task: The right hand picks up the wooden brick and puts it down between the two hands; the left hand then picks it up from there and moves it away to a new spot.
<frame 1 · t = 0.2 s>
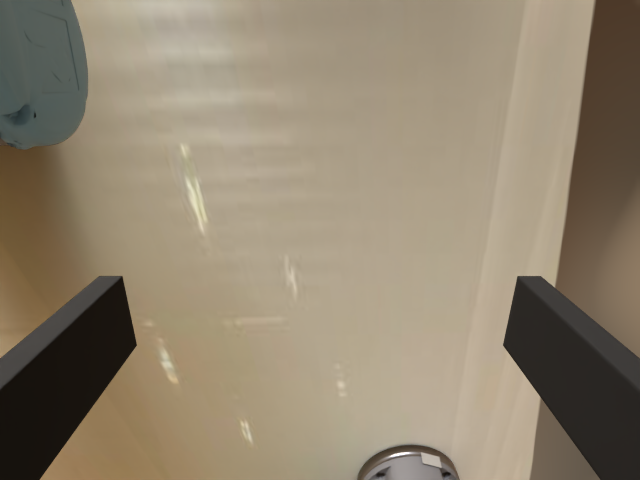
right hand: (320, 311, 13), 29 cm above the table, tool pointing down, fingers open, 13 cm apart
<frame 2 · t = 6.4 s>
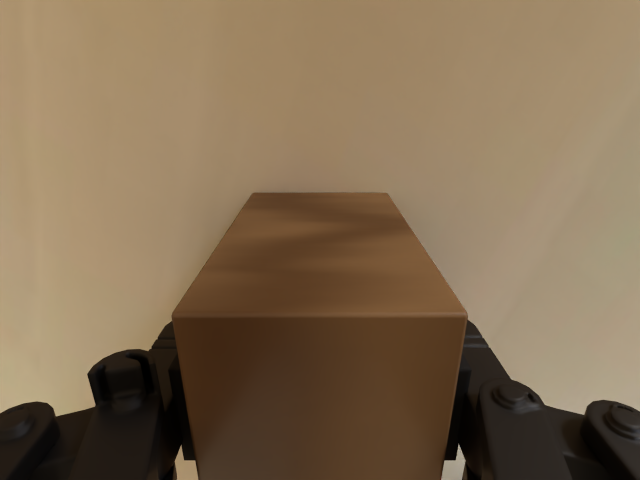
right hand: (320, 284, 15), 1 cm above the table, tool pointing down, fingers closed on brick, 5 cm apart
brick: (319, 275, 15), on the table, touching right hand
when the right hand's fingers open (2 cm above the table, at t = 18.4 s): brick drops 1 cm, on the table.
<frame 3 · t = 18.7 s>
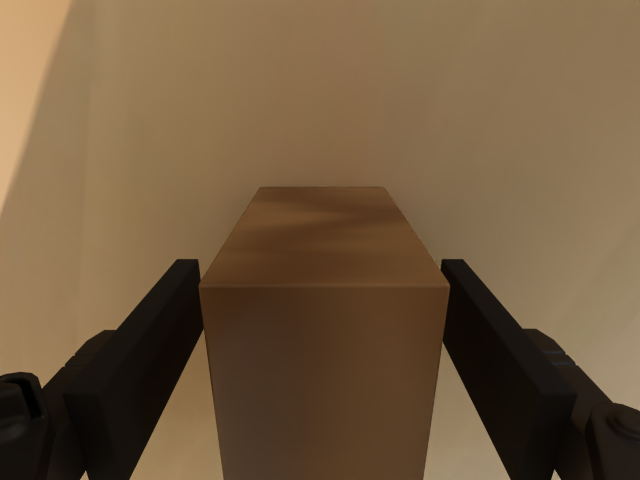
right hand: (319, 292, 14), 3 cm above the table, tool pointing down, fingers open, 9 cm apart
brick: (322, 264, 17), on the table
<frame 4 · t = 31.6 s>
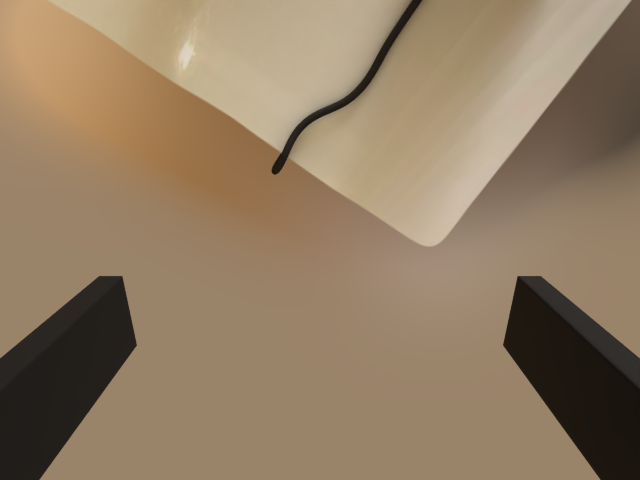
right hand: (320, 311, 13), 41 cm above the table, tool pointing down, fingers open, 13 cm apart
when the left hand's fingers open (2 cm above the table, at t = 49.8 s): brick drops 1 cm, on the table.
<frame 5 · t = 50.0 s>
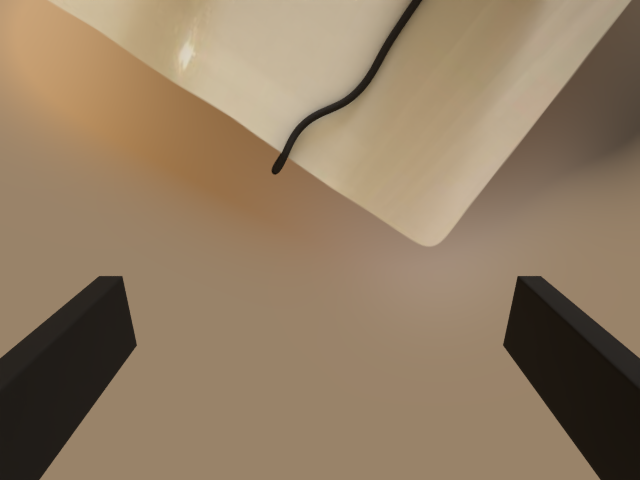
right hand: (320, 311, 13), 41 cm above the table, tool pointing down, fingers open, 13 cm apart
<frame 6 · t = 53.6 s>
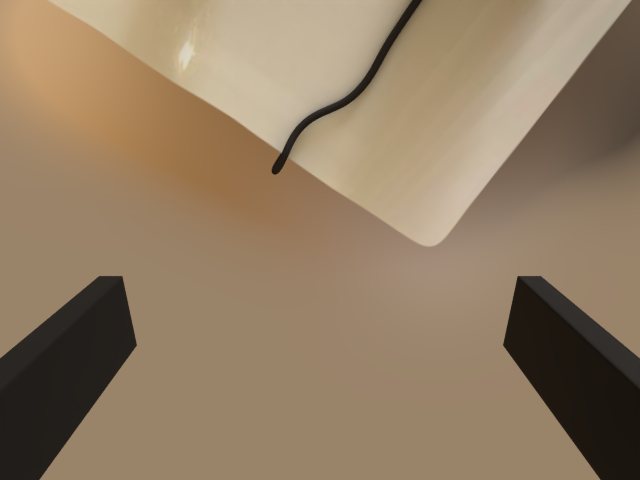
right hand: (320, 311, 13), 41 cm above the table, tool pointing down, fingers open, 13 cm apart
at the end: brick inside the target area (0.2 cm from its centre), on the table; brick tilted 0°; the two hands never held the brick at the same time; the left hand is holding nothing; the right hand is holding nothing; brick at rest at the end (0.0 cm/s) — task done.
